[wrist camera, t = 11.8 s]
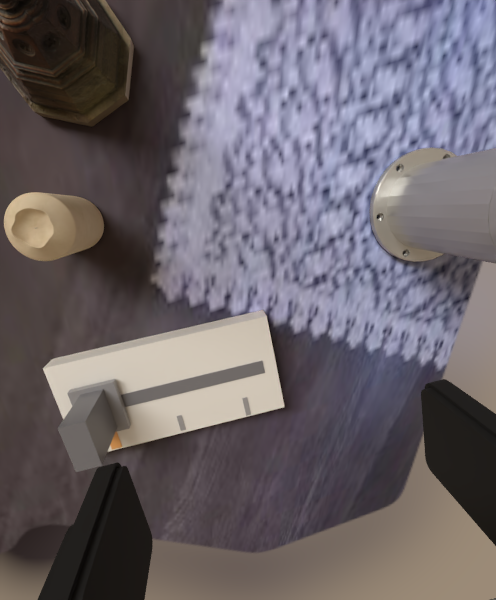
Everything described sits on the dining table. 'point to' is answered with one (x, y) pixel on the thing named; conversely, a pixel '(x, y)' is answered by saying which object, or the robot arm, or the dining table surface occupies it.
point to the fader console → (180, 377)
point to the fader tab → (93, 423)
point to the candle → (52, 225)
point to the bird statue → (66, 57)
